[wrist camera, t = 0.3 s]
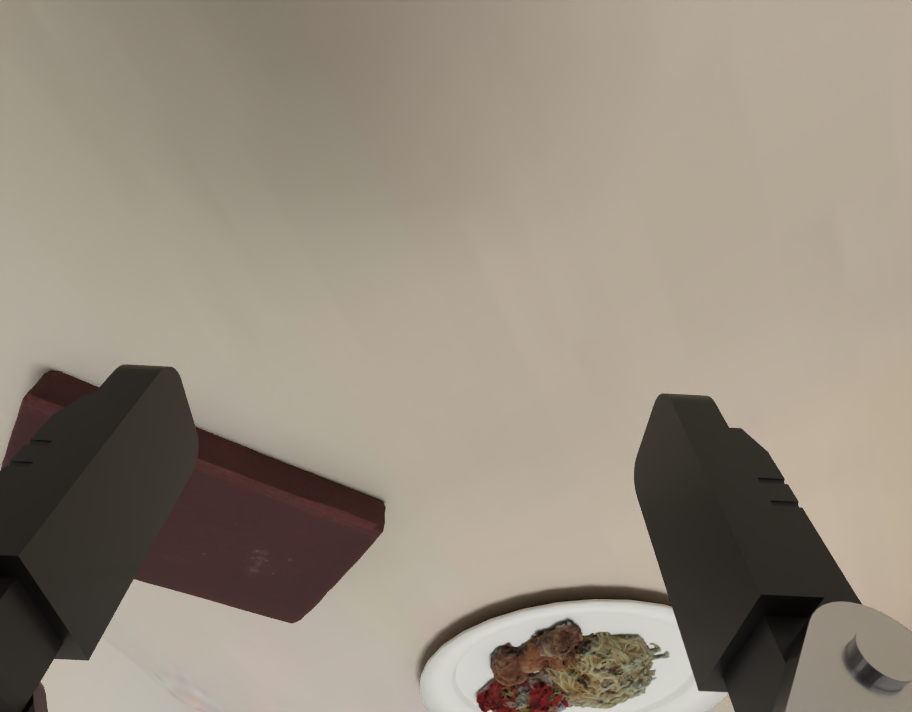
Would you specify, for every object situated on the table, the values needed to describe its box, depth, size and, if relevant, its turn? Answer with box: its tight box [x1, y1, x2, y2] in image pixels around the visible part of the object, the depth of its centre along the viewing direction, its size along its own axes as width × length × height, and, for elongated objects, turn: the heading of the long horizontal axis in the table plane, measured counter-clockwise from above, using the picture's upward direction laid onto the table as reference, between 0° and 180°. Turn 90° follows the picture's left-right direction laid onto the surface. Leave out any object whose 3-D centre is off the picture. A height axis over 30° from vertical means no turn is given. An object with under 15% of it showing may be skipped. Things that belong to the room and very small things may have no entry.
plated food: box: [420, 599, 728, 712], centre depth 52 cm, size 30×30×3 cm
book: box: [1, 371, 386, 623], centre depth 37 cm, size 14×22×4 cm, turn 56°
